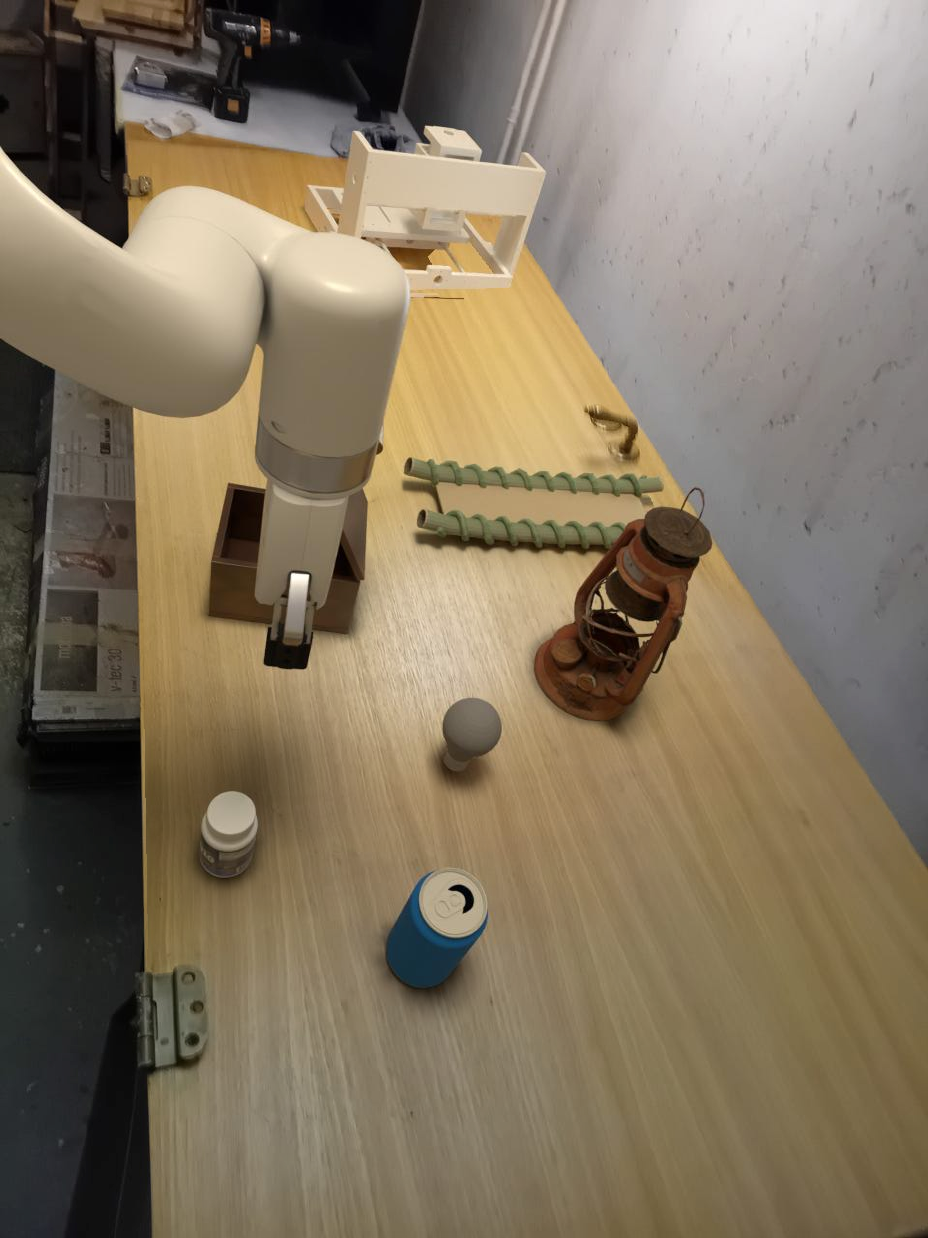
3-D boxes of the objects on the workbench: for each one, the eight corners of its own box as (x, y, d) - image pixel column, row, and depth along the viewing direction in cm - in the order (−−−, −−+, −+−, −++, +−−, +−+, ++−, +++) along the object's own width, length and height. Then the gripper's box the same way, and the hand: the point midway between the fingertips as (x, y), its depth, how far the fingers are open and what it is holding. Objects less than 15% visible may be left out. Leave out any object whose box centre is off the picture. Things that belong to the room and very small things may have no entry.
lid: (305, 463, 76) (374, 450, 75) (315, 385, 84) (377, 372, 83) (357, 581, 88) (417, 571, 87) (361, 503, 96) (416, 493, 95)
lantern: (515, 624, 103) (609, 434, 81) (605, 620, 108) (715, 440, 86) (559, 740, 93) (678, 558, 71) (655, 730, 98) (795, 557, 76)
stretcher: (415, 549, 107) (424, 522, 103) (398, 476, 115) (405, 448, 112) (681, 559, 120) (697, 535, 117) (647, 492, 129) (661, 468, 125)
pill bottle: (194, 836, 75) (196, 792, 69) (246, 825, 77) (253, 781, 71) (204, 885, 72) (207, 844, 66) (258, 871, 74) (266, 830, 68)
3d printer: (455, 218, 176) (483, 87, 157) (519, 300, 159) (558, 165, 140) (296, 213, 161) (306, 69, 142) (348, 303, 145) (366, 153, 126)
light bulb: (488, 783, 87) (517, 733, 80) (435, 791, 85) (460, 740, 77) (472, 735, 90) (498, 683, 83) (420, 741, 88) (443, 688, 81)
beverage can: (468, 966, 74) (508, 917, 65) (408, 1005, 70) (442, 958, 62) (430, 904, 77) (464, 849, 68) (371, 938, 73) (398, 885, 64)
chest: (208, 615, 91) (211, 561, 85) (224, 537, 99) (228, 482, 93) (347, 634, 95) (360, 583, 88) (352, 556, 103) (364, 505, 97)
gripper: (268, 355, 56) (251, 532, 69) (241, 528, 45) (227, 702, 58) (375, 375, 58) (340, 544, 71) (376, 547, 47) (333, 711, 60)
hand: (289, 615), depth 64 cm, fingers open, 9 cm apart
